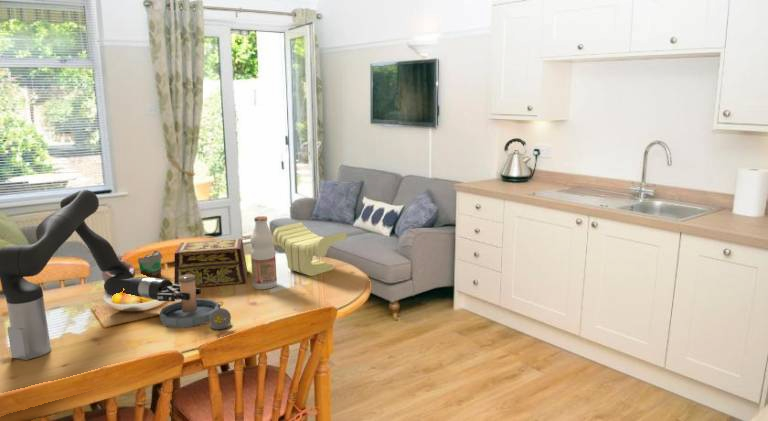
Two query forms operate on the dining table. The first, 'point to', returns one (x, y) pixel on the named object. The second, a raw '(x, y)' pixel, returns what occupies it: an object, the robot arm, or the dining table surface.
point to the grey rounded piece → (220, 318)
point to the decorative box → (212, 262)
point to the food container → (151, 265)
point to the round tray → (187, 314)
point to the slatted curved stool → (304, 248)
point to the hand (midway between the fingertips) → (194, 294)
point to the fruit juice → (263, 255)
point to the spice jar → (188, 287)
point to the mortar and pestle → (109, 274)
